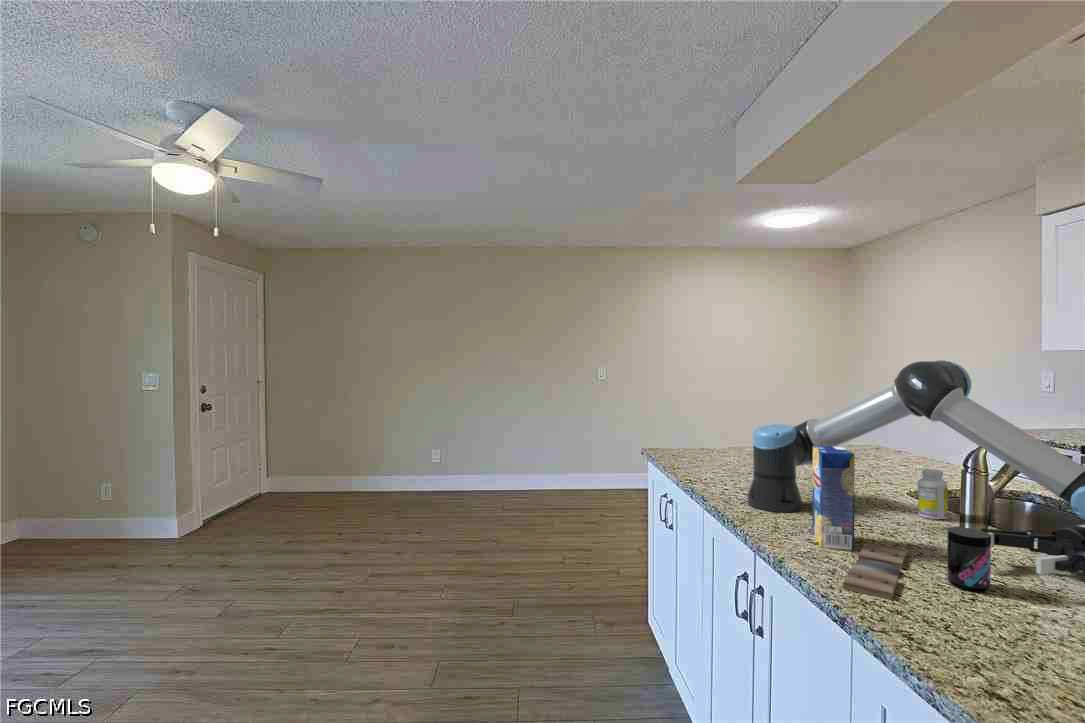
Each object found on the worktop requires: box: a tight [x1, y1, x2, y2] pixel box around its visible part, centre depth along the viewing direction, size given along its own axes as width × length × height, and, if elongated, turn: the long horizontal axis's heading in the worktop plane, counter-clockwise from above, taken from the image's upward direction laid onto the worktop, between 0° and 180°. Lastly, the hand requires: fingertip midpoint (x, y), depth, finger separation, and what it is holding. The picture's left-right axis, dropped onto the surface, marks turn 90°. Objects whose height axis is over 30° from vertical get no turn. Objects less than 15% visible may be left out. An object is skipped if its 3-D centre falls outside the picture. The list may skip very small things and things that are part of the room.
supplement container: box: [946, 526, 992, 593], centre depth 108 cm, size 7×7×10 cm
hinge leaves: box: [842, 542, 907, 601], centre depth 116 cm, size 28×8×1 cm, turn 143°
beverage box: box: [812, 446, 855, 551], centre depth 134 cm, size 7×11×22 cm, turn 164°
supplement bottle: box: [917, 468, 949, 520], centre depth 153 cm, size 7×7×13 cm
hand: (1000, 553), depth 109 cm, fingers open, 13 cm apart
